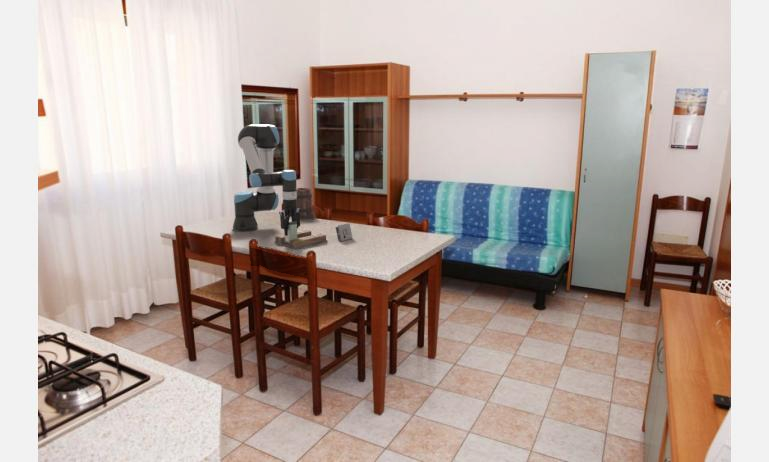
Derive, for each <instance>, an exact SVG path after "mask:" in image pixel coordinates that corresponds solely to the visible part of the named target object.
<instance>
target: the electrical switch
mask: <svg viewBox="0 0 769 462" xmlns="http://www.w3.org/2000/svg"><path fill="white" fill-rule="evenodd" d="M335 231H336V237H337V241H341V242H344V241H348V240H350V239H353V233H352V228H351V224H350V223H349V222H346V223H343V224H339V225H337V226H335Z"/></svg>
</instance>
